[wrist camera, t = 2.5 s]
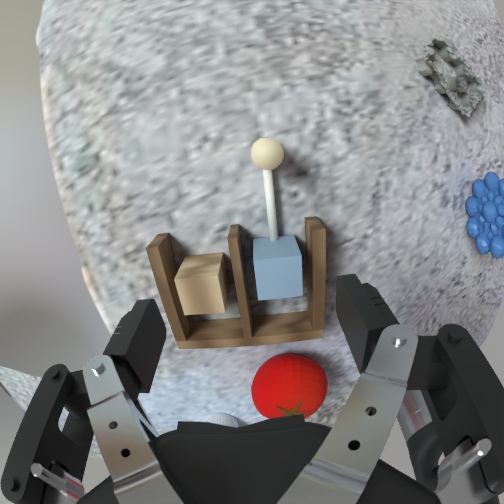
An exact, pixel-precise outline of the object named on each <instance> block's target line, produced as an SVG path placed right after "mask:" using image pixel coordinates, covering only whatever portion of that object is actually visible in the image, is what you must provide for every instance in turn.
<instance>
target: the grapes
mask: <svg viewBox="0 0 504 504" xmlns="http://www.w3.org/2000/svg"><path fill="white" fill-rule="evenodd" d="M472 190H473V194H474V195H475V197H474V196H471V197H469V198H468V199H467V200H466V210H467V212H468V214H469V215H470V216H472V217H470V218H469V220H468V221H467V226H466V227H467V231H468V234H469V235H470V237H472V238H476V240H475V244H476V249H477V250H478V252H479V253H480V254H482V255H484V254H487V253H488V252H489V251H490V252H491V254H492V255H493V257H495V258H497V259H498V258H501V257H503V255H504V178H503V179H501V180H499V177H498V176H497V175H496V173H494V172H488V173H487V174H486V176H485V182H484V181H483V180H481V179H477V180H475V181H474V183H473V185H472Z"/></svg>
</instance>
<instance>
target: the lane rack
mask: <svg viewBox="0 0 504 504" xmlns="http://www.w3.org/2000/svg"><path fill="white" fill-rule="evenodd" d="M305 235H306V262H307V311H303V312H294V313H286V314H276V315H266V316H255V317H252V313H251V306H250V299H249V292H248V285H247V278H246V271H245V264H244V257H243V250H242V243H241V235H240V228H239V224H236V225H231V226H230V231H229V235H228V244H229V251H230V257H231V263H232V269H233V275H234V281H235V287H236V293H237V299H238V305H239V310H240V316H241V318H231V319H216V320H200V321H192V320H191V316H190V315H184V312H183V308H182V305H181V302H180V298H179V295H178V291H177V288H176V284H175V281H174V279H175V276H176V274H177V272H178V269H177V265H176V261H175V257H174V253H173V249H172V245H171V241H170V236H169V233H163V234H158V235H157V236H156V237H155V238H154V239H153V241H152V242H151V243H150V244H149V245H148V247H147V248H146V250H147V254H148V257H149V261H150V264H151V268H152V271H153V274H154V278H155V281H156V284H157V287H158V291H159V294H160V297H161V300H162V303H163V306H164V309H165V312H166V315H167V318H168V321H169V323H170V326H171V329H172V332H173V334H174V337H175V340H176V343H177V345H178V348H179V349H199V348H223V347H240V346H253V345H265V344H276V343H285V342H294V341H302V340H310V339H318V338H323V334H324V314H325V283H326V229H325V227H324V226H323V225H322V223H321V222H320V220H319V219H318V218H317V216H316V217H305Z"/></svg>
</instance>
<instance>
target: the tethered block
mask: <svg viewBox="0 0 504 504" xmlns="http://www.w3.org/2000/svg"><path fill="white" fill-rule="evenodd" d="M251 157H252V160H253V162H254V164H255V165H256V166H257V167H259V168H261V169H263V177H264V187H265V196H266V206H267V216H268V226H269V236H270V237H266V238H256V239H253V263H254V271H255V279H256V287H257V295H258V301H259V300H269V299H279V298H288V297H297V296H303V282H302V255H301V253H300V250H299V247H298V245H297V242H296V239H295V237H294V235H285V236H278V230H277V219H276V208H275V197H274V187H273V177H272V169H275V168H277V167H278V166H279V165H280V164H281V163H282V161H283V158H284V150H283V148H282V146H281V144H280V143H279V142H277V141H276V140H274V139H271V138H260V139H258V140H256V141H255V142H254V143H253V145H252V149H251Z"/></svg>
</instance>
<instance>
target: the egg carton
mask: <svg viewBox="0 0 504 504" xmlns="http://www.w3.org/2000/svg"><path fill="white" fill-rule="evenodd" d="M434 44H435V45H436V46H437V47H438V48H439V54H440V57H441V58H442V59H443V60H444V61H446V62H450V61H451V62H452V63H453V64H454V66H455V67H454V70H455V73H456V75H457V76H458V77H451V78H448V79H447V82H446V81H444V78H443V76H442V74H443V67H442V66H441V64H440V63H439V62H438V61H432V62H431V61H430V60H429V57H430V56H432V55H434V52H435V49H434V46H433V45H434ZM423 51H425V53H424V54H421V55H419V56H417V57H416V58H415V61H416V63H417V65H418V72H419V73H420V74H421V75H422V76H427V75H429V76H430V77H431V78H432V79H433V80H434V83H435V88H434V89H435V90H436V91H438V92H439V93H442V94H444V93H445V94H447V95H448V97H449V100H450V105H449V106H450V107H451V109H452V110H453V111H454V110H459V111H461V113H462V114H466V115H467V116H468V117H470V116H471V115H470V113H471V112H472V111H473V110H474V109H475V108H476V105H477V104H478V103H479V101H480V100H481V98H482V97H481V96H482V95H483V94H484V92H485V91H486V89H487V88H486V86H485V85H484V84H483V83H482V82H481V80H480V79H479V78H478V77H477V76H476V75H475V72H474V71H472V69H471V65H470V64H469V63H468V62H467V61H466V60H465V59H464V57H463V56H462V55H461V54H460V53H459V52H458V50H457V49H456V47H455V46H454V44H453V43H452V42H451V41H450V40H449V39H447V38H445V37H443V36H440V35H436V39H433V40H431V41H428V42H426V43H425V44H424V49H423ZM467 81H468V86H467ZM447 87H448V88H449V90H450V91H449V92H447ZM467 89H469V92H470V94H466V95H462V96H461V104H462V106H463V109H460V108H459V106H460V104H459V99H458V95H457V93H463V92H465V91H466V90H467Z"/></svg>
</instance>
